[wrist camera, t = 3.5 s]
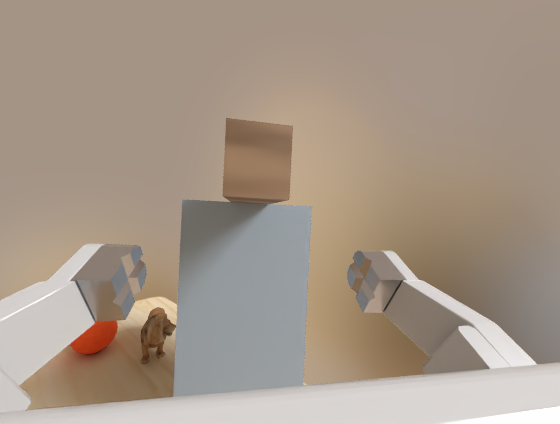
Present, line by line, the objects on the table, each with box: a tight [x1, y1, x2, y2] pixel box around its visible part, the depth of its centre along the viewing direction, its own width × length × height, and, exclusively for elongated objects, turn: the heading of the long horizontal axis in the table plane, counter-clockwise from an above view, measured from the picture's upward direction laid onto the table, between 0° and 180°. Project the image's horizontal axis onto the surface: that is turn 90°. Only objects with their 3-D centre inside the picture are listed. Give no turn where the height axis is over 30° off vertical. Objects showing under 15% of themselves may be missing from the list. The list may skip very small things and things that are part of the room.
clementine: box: [71, 321, 118, 354], centre depth 41 cm, size 8×7×7 cm
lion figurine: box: [141, 307, 176, 363], centre depth 43 cm, size 15×5×9 cm, turn 35°
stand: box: [173, 200, 312, 397], centre depth 27 cm, size 13×12×29 cm
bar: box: [223, 118, 293, 204], centre depth 22 cm, size 22×4×4 cm, turn 10°
